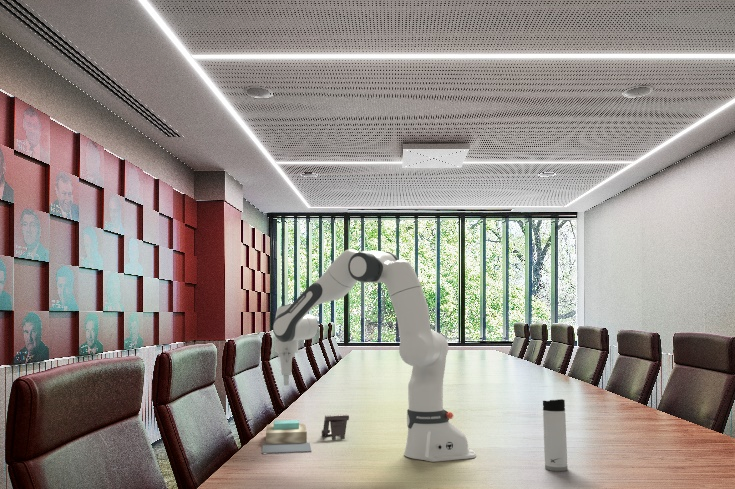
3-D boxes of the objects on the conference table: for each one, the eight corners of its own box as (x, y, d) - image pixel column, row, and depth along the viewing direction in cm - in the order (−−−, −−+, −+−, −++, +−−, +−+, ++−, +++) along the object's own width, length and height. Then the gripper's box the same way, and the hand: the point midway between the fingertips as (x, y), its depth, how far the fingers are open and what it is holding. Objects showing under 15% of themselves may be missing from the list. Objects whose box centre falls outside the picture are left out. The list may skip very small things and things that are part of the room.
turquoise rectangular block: (298, 425, 226) (298, 420, 226) (298, 428, 220) (299, 423, 221) (273, 426, 225) (273, 420, 225) (273, 429, 219) (273, 423, 219)
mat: (309, 443, 214) (309, 442, 214) (311, 452, 201) (311, 450, 201) (262, 445, 212) (262, 444, 212) (261, 453, 199) (261, 452, 199)
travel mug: (555, 472, 174) (553, 400, 176) (540, 467, 180) (537, 397, 182) (573, 470, 176) (570, 399, 178) (557, 465, 182) (554, 396, 184)
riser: (304, 434, 230) (304, 423, 231) (306, 443, 214) (306, 431, 215) (266, 435, 228) (267, 424, 229) (265, 445, 212) (266, 433, 213)
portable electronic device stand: (344, 434, 230) (344, 411, 231) (350, 438, 222) (350, 415, 223) (321, 436, 227) (321, 413, 228) (326, 440, 220) (326, 416, 221)
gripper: (295, 349, 224) (295, 388, 222) (294, 346, 244) (293, 381, 242) (278, 349, 223) (277, 388, 221) (278, 346, 243) (277, 382, 242)
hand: (286, 385), depth 232 cm, fingers closed
